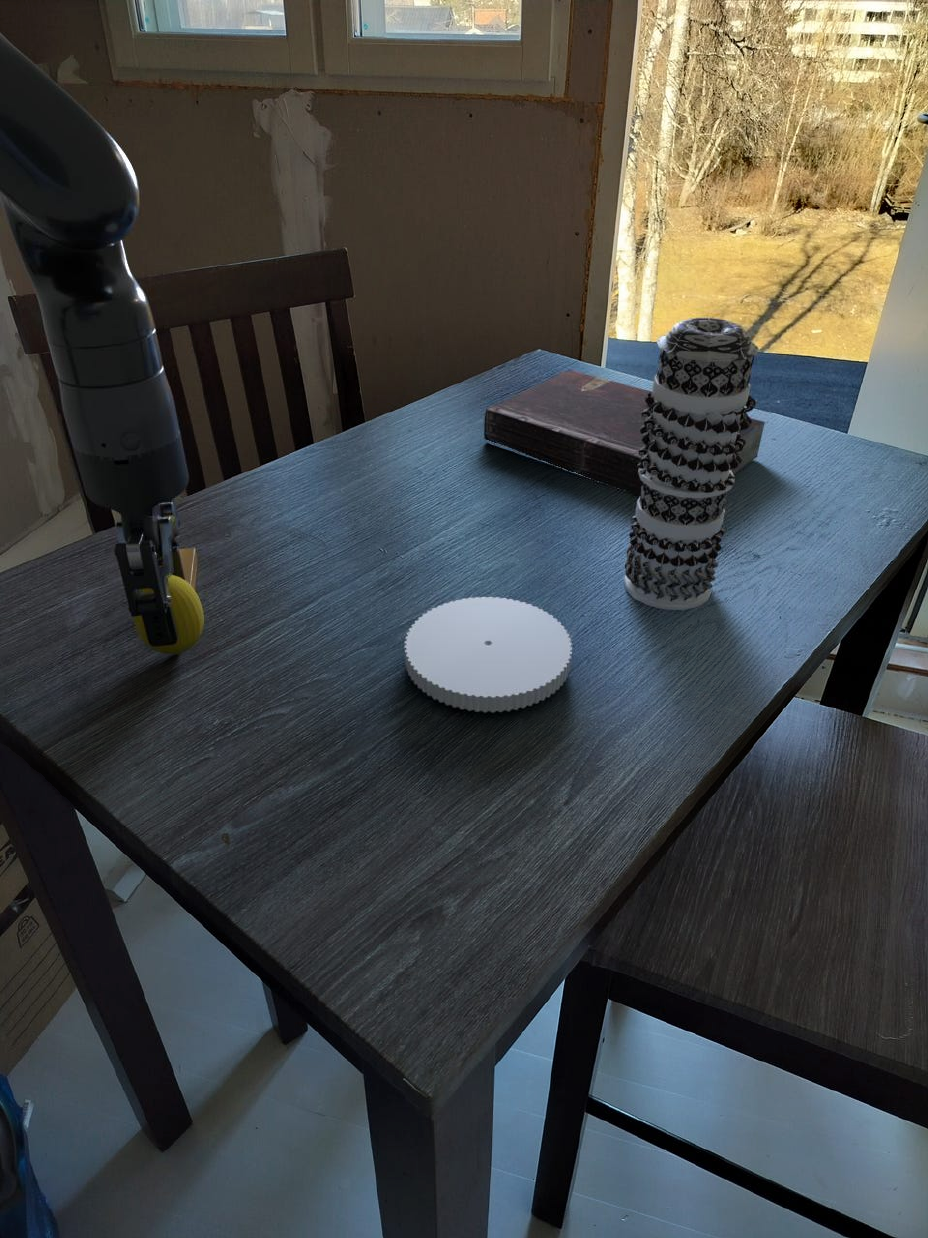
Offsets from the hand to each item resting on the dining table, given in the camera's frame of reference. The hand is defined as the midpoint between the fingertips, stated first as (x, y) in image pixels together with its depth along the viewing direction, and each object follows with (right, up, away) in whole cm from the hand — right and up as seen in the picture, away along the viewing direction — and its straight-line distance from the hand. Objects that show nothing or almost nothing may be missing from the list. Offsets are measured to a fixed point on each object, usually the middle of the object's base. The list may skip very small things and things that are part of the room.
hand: (168, 613), depth 72 cm
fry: (-2, +3, +11) cm, 12 cm away
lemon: (0, -4, +2) cm, 4 cm away
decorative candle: (+45, +3, +12) cm, 46 cm away
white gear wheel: (+27, -5, +1) cm, 27 cm away
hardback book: (+45, +21, +37) cm, 62 cm away
